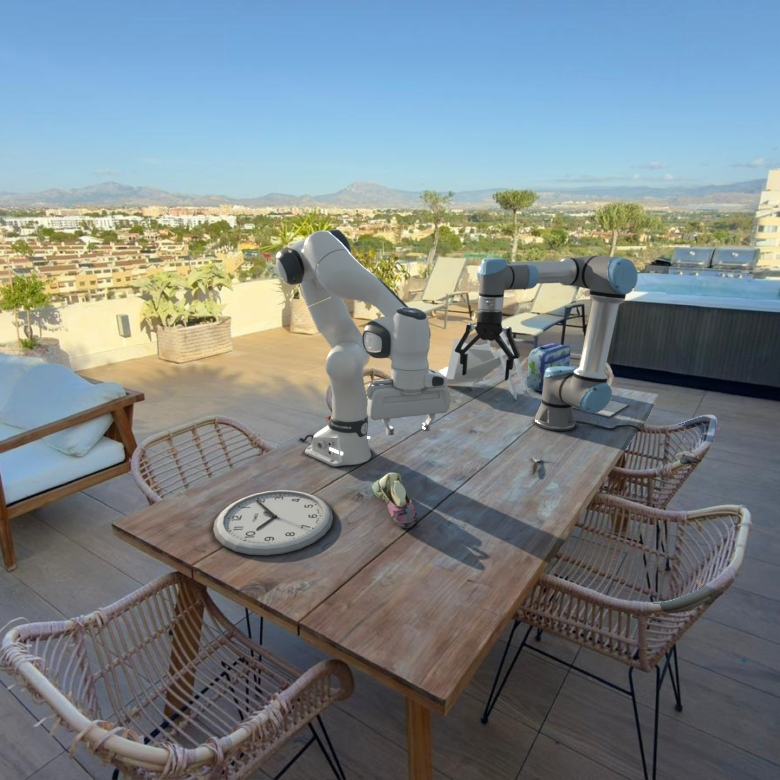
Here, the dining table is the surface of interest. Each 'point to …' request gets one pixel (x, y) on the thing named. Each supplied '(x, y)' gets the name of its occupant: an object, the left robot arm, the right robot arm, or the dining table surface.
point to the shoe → (396, 499)
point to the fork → (536, 461)
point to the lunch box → (545, 363)
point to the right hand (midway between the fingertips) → (485, 376)
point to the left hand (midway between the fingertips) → (408, 432)
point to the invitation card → (611, 408)
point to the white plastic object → (481, 365)
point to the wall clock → (273, 522)
